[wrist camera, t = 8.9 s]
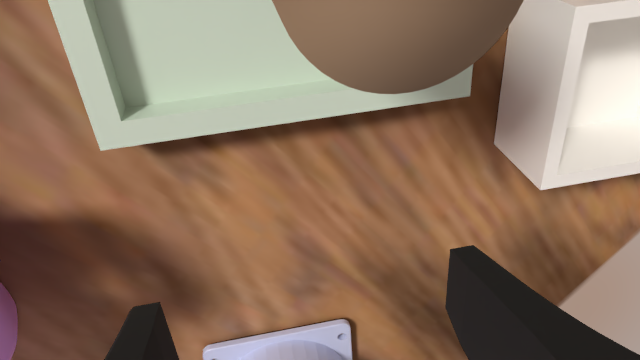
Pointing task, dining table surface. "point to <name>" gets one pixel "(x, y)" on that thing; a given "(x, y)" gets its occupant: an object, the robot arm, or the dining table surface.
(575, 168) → the square cup
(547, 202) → the dining table surface
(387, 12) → the walnut dowel
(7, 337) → the teakettle
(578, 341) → the robot arm
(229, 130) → the tray
